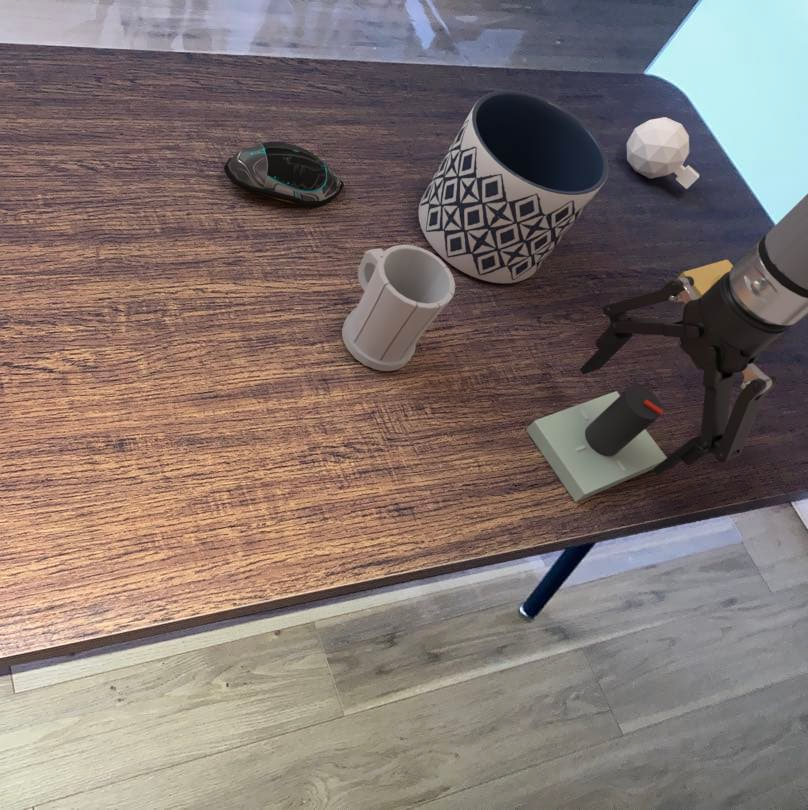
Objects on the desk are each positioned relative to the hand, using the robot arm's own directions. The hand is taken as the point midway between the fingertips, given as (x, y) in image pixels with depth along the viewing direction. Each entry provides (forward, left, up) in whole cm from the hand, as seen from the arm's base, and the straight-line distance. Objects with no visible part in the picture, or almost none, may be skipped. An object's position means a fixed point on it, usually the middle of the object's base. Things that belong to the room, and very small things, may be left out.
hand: (625, 417), depth 101 cm
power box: (+12, -37, -7) cm, 39 cm away
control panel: (0, 0, -7) cm, 7 cm away
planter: (+33, -6, -7) cm, 34 cm away
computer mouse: (+47, +18, -7) cm, 51 cm away
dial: (0, 0, -5) cm, 5 cm away
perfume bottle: (+37, -44, -7) cm, 58 cm away
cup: (+22, +19, -7) cm, 30 cm away
